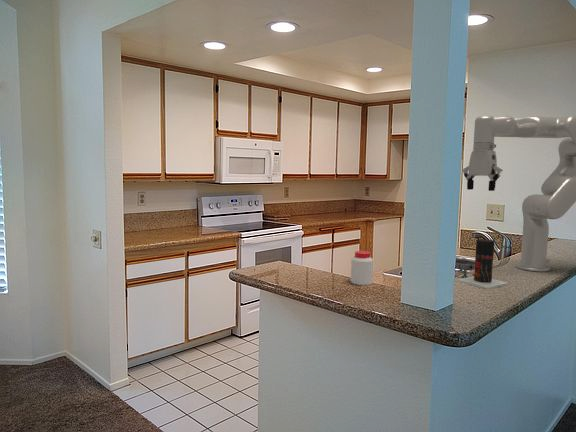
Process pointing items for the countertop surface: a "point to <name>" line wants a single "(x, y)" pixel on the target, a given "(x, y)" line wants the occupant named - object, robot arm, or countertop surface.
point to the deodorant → (484, 260)
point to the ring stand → (465, 266)
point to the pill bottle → (362, 268)
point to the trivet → (480, 284)
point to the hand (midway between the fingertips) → (480, 190)
